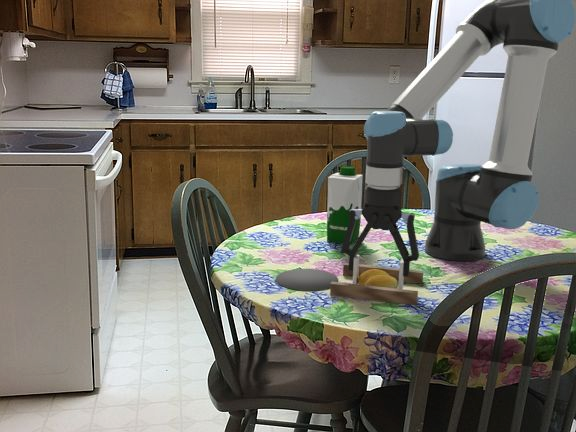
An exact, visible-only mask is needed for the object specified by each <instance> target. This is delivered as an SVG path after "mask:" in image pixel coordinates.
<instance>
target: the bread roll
mask: <svg viewBox="0 0 576 432" xmlns="http://www.w3.org/2000/svg"><path fill="white" fill-rule="evenodd" d="M357 281H358V284H359V285H368V286H377V287H386V288H395V289H398V284H399V281H397V280H396V279H395V278H394V277H392V276H390V275H389V274H387V273H386V272H385V271H383V270H379V269H370V270H367V271H365V272H364V273H362V274H361V275H360V276H359V277H358V280H357Z"/></svg>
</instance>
